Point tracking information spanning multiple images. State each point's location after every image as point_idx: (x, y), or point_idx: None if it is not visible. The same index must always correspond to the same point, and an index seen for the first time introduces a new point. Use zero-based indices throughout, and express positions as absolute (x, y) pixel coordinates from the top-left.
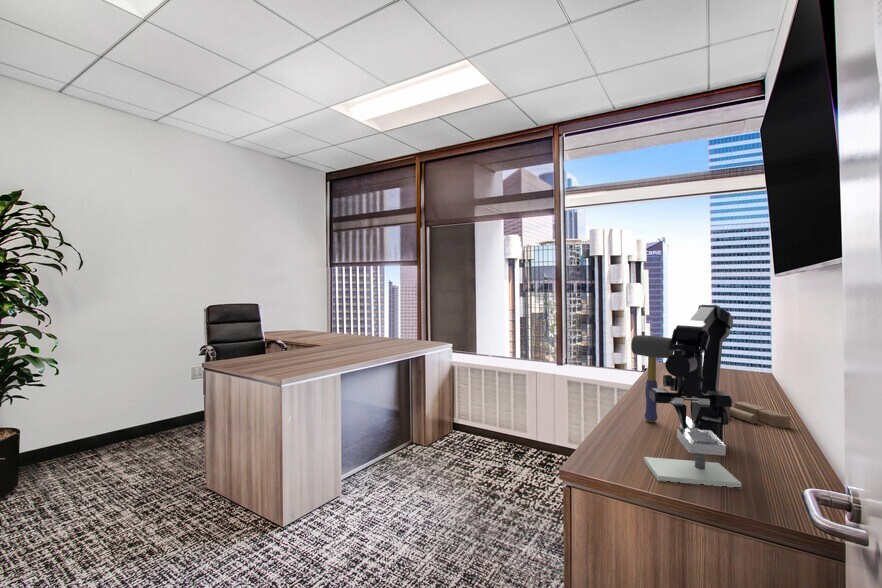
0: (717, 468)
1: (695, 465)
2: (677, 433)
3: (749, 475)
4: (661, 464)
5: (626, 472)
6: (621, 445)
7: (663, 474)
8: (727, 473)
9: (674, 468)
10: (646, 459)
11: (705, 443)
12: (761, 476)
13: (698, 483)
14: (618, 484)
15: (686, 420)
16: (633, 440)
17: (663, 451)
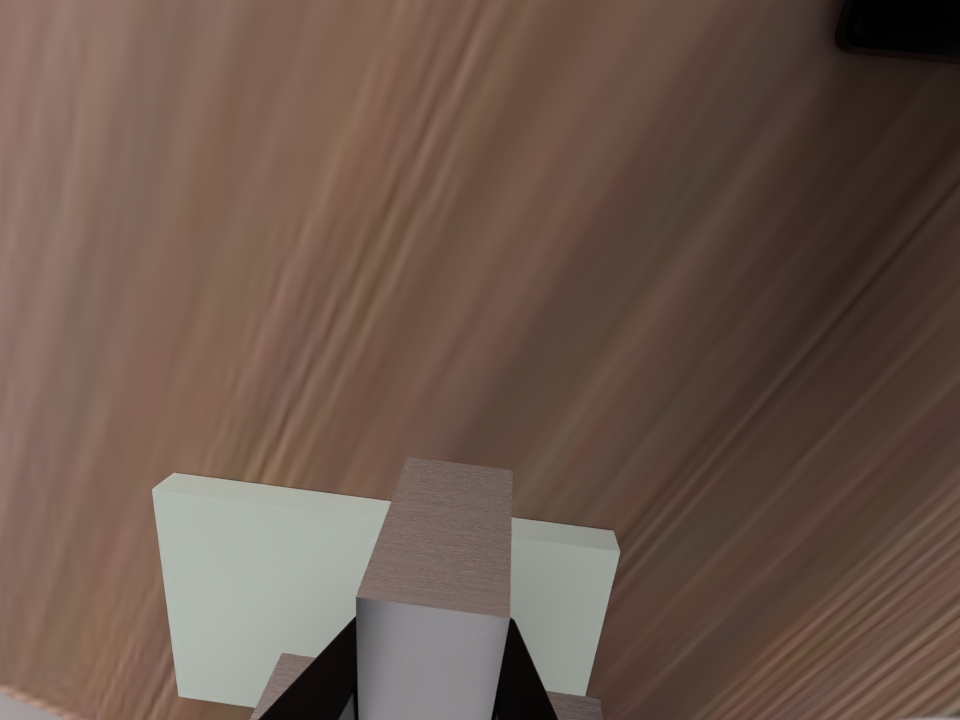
0: (556, 619)
1: None
2: (260, 706)
3: (731, 612)
4: (233, 585)
5: (59, 601)
6: (52, 197)
7: (210, 684)
8: (573, 670)
9: (293, 626)
10: (158, 527)
11: None
12: (795, 620)
13: None
14: (17, 699)
15: (399, 714)
16: (167, 45)
17: (358, 294)
